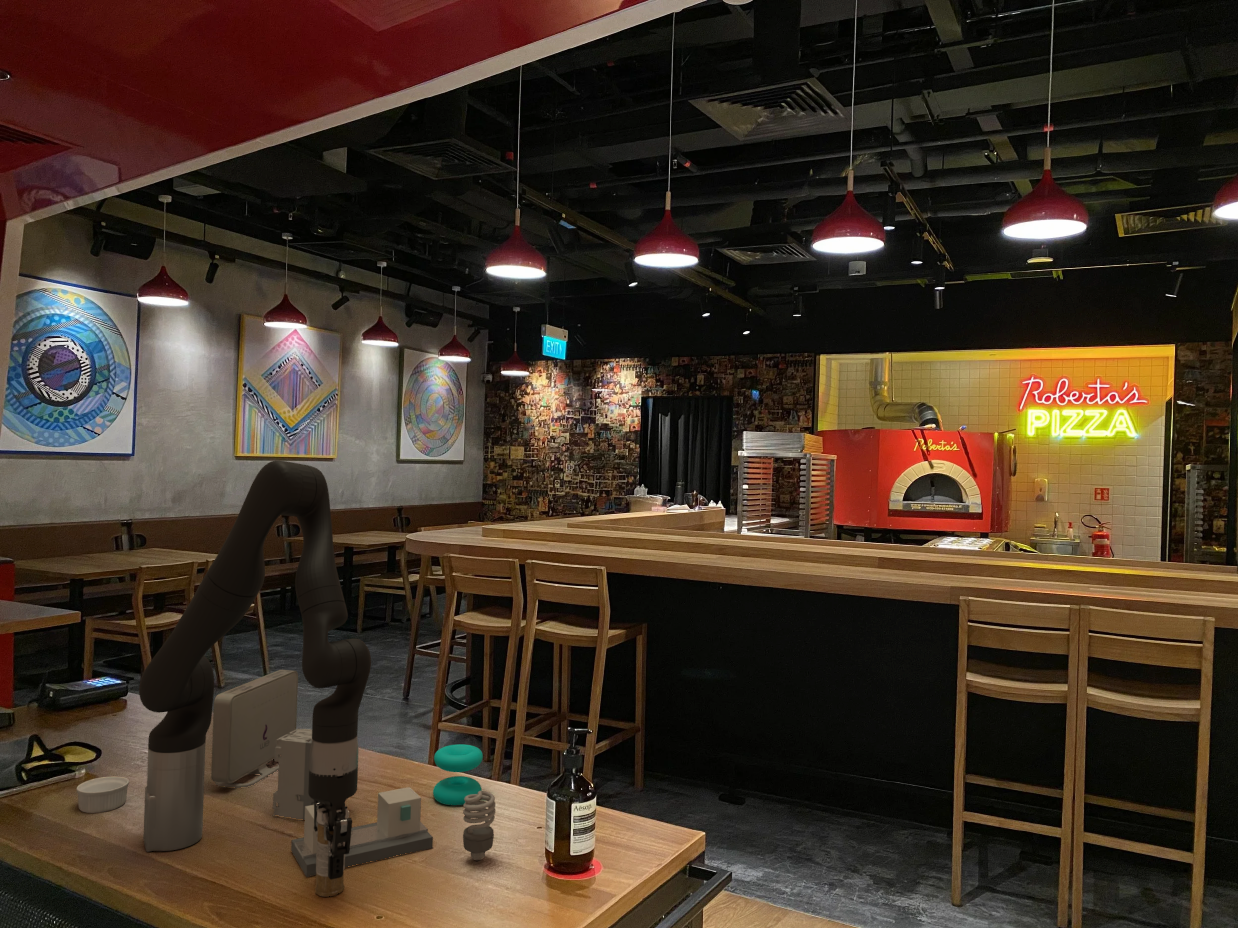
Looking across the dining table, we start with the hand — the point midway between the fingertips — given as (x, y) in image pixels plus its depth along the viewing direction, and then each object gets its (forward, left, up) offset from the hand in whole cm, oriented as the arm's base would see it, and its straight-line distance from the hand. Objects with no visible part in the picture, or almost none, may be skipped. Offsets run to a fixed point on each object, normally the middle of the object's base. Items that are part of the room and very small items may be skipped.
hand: (330, 868), depth 137 cm
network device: (0, +61, -4) cm, 61 cm away
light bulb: (+25, -2, -4) cm, 25 cm away
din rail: (+9, +12, -1) cm, 15 cm away
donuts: (+33, +26, -4) cm, 42 cm away
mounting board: (+9, +12, -3) cm, 15 cm away
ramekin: (-29, +56, -4) cm, 63 cm away
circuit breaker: (+6, +32, -4) cm, 33 cm away
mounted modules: (+9, +12, -1) cm, 15 cm away
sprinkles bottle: (0, 0, -4) cm, 4 cm away
